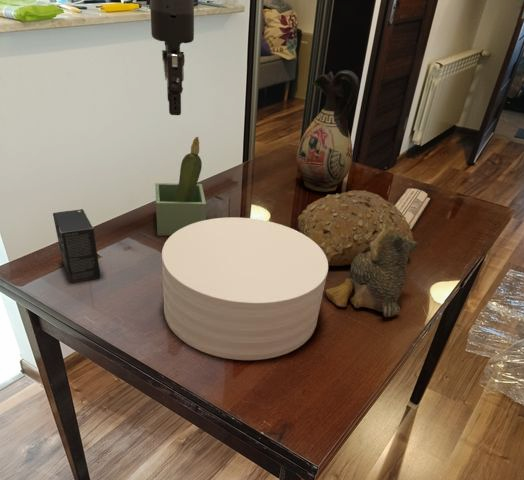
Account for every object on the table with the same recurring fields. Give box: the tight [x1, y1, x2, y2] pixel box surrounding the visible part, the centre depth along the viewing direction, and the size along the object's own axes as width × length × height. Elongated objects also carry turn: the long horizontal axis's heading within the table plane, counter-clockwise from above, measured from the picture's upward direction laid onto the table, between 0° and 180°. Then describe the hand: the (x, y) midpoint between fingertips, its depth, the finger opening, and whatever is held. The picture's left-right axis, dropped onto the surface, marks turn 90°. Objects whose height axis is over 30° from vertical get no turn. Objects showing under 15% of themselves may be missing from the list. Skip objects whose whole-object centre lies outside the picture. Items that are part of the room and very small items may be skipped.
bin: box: [154, 182, 207, 237], centre depth 109 cm, size 11×11×8 cm
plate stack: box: [161, 217, 329, 361], centre depth 85 cm, size 28×28×12 cm
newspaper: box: [394, 187, 431, 230], centre depth 131 cm, size 24×7×2 cm, turn 153°
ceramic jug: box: [295, 69, 360, 193], centre depth 128 cm, size 17×15×30 cm
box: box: [52, 208, 101, 283], centre depth 90 cm, size 8×6×11 cm
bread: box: [297, 189, 414, 267], centre depth 108 cm, size 24×21×12 cm
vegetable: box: [172, 136, 203, 202], centre depth 105 cm, size 4×4×20 cm
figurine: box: [325, 229, 418, 318], centre depth 91 cm, size 14×15×15 cm
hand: (174, 108), depth 95 cm, fingers open, 8 cm apart
